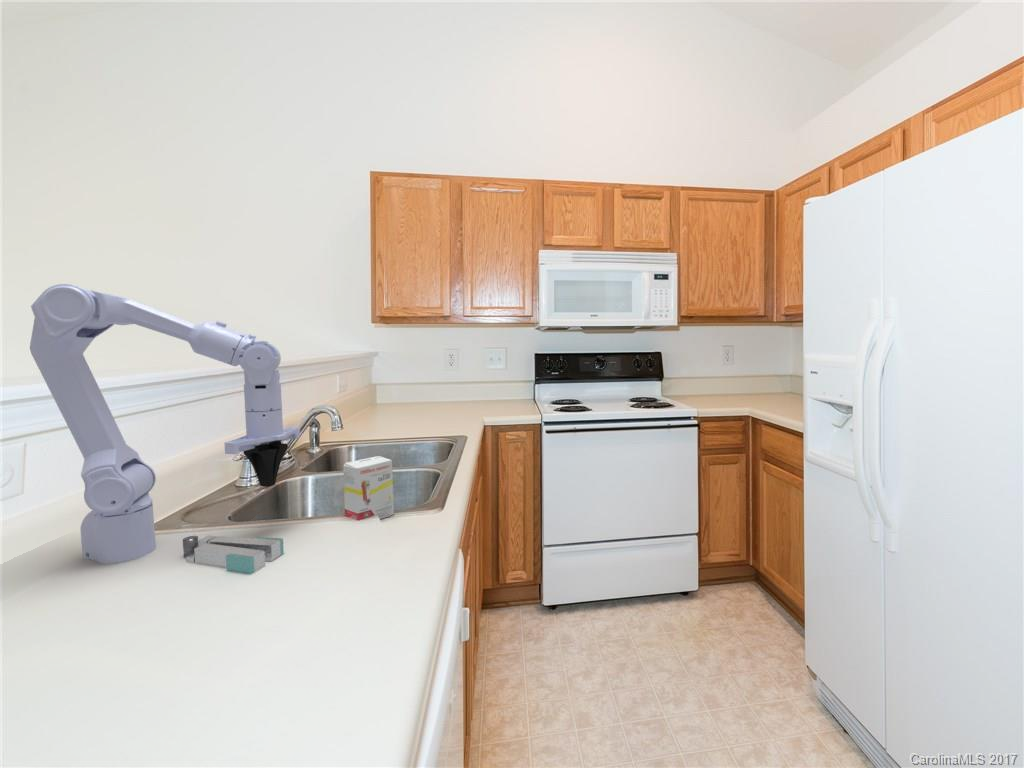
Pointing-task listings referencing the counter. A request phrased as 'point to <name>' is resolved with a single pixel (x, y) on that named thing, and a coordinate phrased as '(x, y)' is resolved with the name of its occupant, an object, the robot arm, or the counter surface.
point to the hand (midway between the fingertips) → (267, 485)
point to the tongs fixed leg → (223, 556)
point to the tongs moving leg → (249, 544)
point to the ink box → (368, 488)
